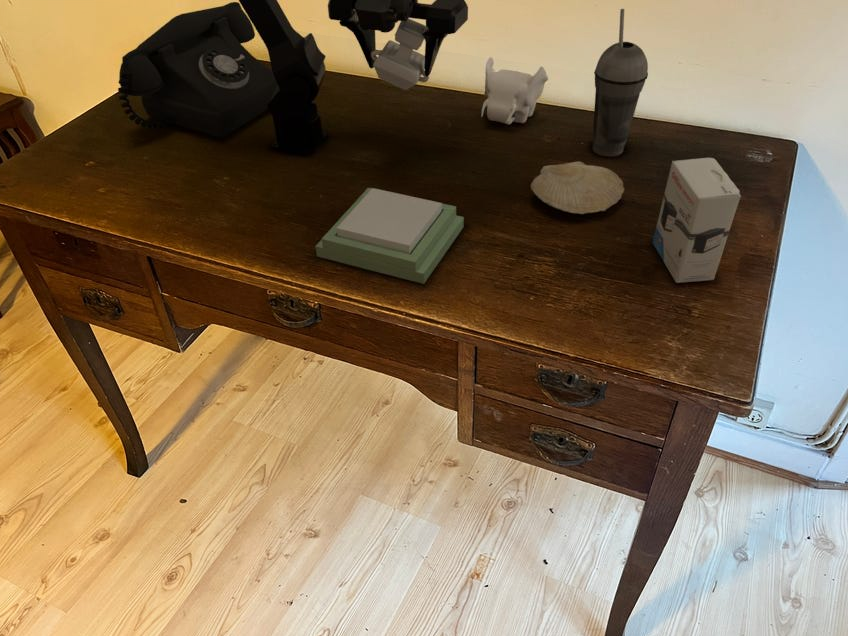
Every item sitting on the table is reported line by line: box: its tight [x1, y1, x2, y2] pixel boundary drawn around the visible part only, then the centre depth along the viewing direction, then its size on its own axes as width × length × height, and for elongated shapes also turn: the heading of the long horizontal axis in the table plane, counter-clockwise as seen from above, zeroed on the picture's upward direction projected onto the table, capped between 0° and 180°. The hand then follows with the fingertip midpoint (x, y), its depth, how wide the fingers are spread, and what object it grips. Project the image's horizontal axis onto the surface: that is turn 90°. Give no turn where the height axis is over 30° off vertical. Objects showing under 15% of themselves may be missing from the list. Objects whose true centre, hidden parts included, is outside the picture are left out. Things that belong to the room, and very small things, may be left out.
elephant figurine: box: [481, 56, 549, 125], centre depth 115 cm, size 10×12×9 cm
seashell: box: [530, 160, 625, 215], centre depth 100 cm, size 12×12×3 cm
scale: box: [314, 187, 465, 285], centre depth 94 cm, size 15×13×3 cm
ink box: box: [652, 157, 742, 284], centre depth 86 cm, size 8×5×12 cm, turn 5°
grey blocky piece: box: [371, 18, 430, 91], centre depth 104 cm, size 9×7×8 cm
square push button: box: [337, 187, 443, 254], centre depth 93 cm, size 10×10×2 cm
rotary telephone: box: [117, 1, 277, 138], centre depth 119 cm, size 30×17×15 cm, turn 148°
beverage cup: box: [592, 8, 649, 157], centre depth 103 cm, size 7×7×20 cm
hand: (399, 71), depth 106 cm, fingers closed on grey blocky piece, 8 cm apart
